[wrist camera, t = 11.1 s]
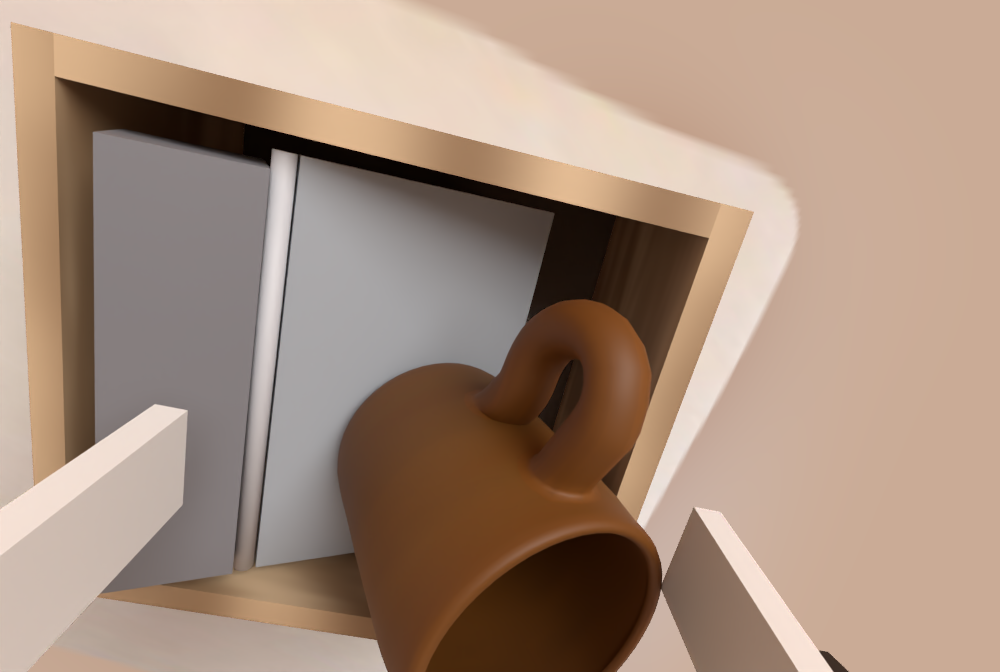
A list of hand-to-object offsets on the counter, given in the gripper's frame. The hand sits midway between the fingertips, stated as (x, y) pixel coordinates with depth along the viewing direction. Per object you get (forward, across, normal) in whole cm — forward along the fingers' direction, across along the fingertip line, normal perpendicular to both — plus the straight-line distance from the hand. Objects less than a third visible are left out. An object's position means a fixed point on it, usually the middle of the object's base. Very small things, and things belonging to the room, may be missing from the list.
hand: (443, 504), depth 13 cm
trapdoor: (+8, -5, 0) cm, 10 cm away
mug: (+7, -1, 0) cm, 7 cm away
